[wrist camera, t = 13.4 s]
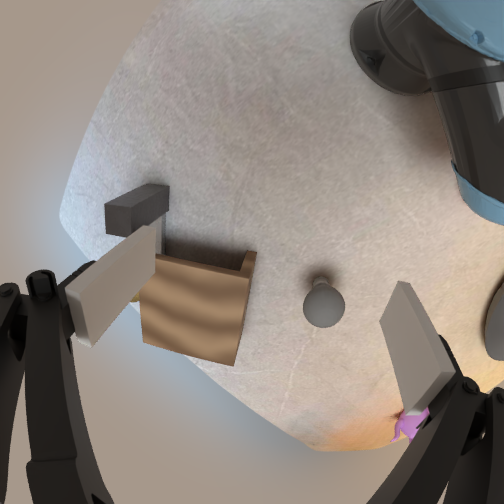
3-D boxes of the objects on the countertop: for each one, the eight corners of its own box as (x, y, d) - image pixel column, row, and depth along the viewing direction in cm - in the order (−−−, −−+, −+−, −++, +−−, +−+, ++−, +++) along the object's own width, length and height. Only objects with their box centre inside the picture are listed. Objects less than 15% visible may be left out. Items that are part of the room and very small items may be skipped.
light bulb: (338, 296, 47) (346, 334, 38) (303, 299, 48) (304, 338, 39) (338, 264, 44) (348, 299, 35) (301, 267, 45) (302, 302, 36)
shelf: (161, 232, 46) (137, 254, 38) (256, 252, 45) (249, 279, 38) (161, 314, 53) (143, 342, 46) (241, 334, 52) (233, 366, 45)
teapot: (443, 406, 57) (451, 430, 49) (400, 429, 62) (405, 453, 54) (432, 390, 54) (441, 417, 46) (385, 415, 59) (390, 443, 51)
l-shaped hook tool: (147, 183, 43) (104, 203, 32) (169, 186, 43) (130, 207, 32) (149, 299, 52) (120, 338, 41) (168, 303, 52) (141, 345, 41)
